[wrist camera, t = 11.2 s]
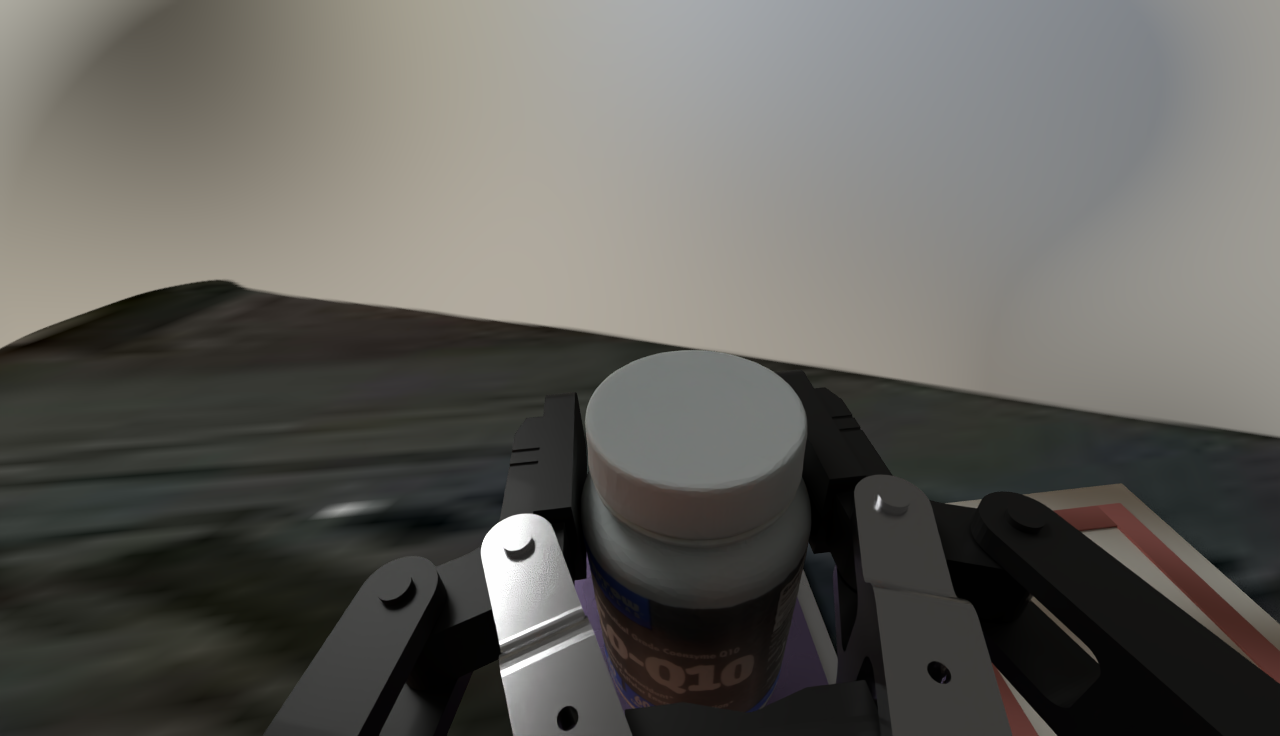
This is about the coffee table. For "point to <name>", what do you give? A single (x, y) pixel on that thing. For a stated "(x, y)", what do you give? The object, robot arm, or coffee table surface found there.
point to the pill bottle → (695, 526)
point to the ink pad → (804, 652)
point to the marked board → (1151, 582)
